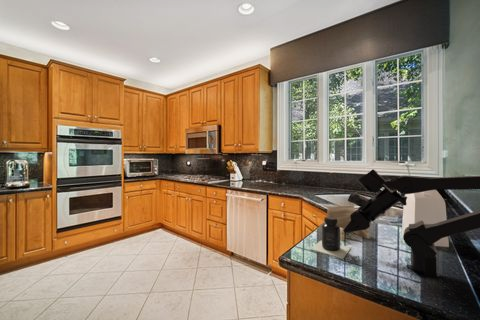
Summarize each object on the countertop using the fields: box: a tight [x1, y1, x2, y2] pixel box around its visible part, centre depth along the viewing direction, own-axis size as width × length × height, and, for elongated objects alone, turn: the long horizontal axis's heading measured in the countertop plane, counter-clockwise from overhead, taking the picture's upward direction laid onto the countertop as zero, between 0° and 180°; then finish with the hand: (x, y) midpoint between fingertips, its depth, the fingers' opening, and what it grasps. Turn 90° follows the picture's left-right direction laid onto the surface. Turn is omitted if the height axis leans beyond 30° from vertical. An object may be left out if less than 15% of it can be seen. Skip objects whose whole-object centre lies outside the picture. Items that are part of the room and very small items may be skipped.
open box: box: [326, 204, 370, 241], centre depth 100 cm, size 11×14×13 cm
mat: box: [310, 240, 352, 260], centre depth 84 cm, size 12×12×1 cm
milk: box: [401, 190, 450, 248], centre depth 94 cm, size 12×12×26 cm
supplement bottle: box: [321, 216, 341, 251], centre depth 84 cm, size 7×7×12 cm
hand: (347, 228), depth 80 cm, fingers open, 9 cm apart
